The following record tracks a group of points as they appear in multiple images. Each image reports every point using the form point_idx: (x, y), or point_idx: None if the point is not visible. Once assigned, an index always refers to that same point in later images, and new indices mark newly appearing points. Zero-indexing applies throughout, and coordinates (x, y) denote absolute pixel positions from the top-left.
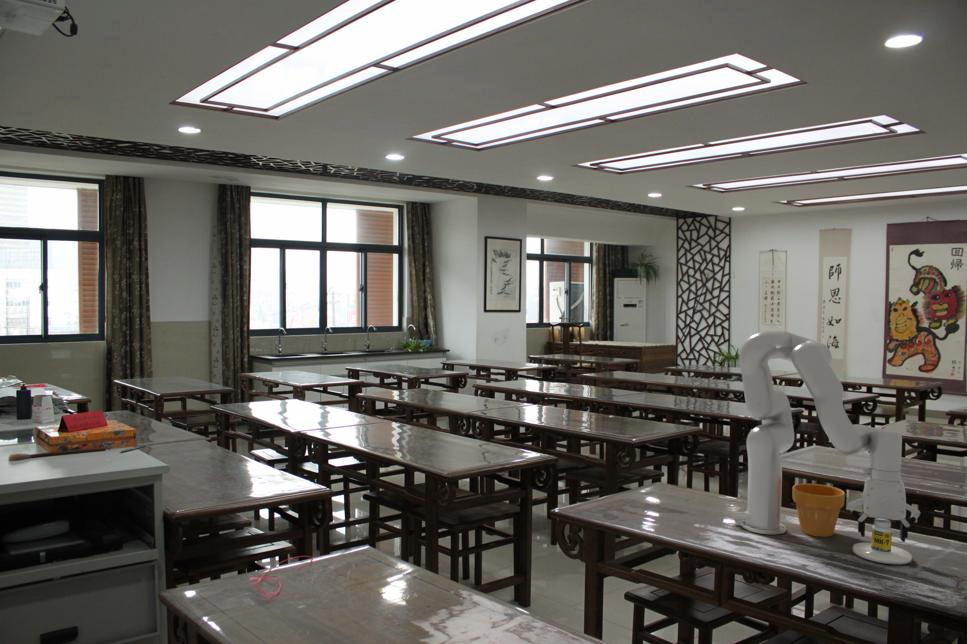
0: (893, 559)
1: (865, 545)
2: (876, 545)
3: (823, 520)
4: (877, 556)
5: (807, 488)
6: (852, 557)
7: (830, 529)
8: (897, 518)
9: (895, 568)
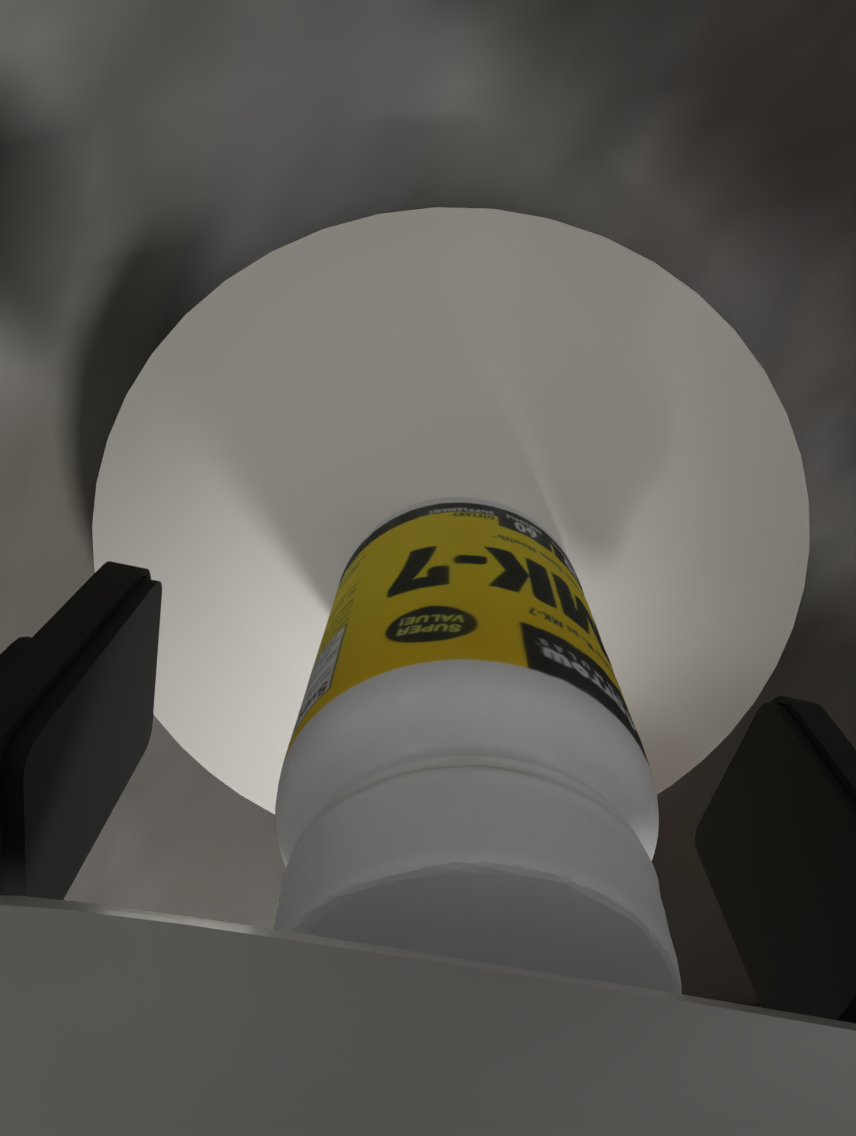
0: (419, 259)
1: None
2: (569, 575)
3: None
4: (617, 355)
5: None
6: (837, 483)
7: None
8: (47, 941)
9: (435, 121)
